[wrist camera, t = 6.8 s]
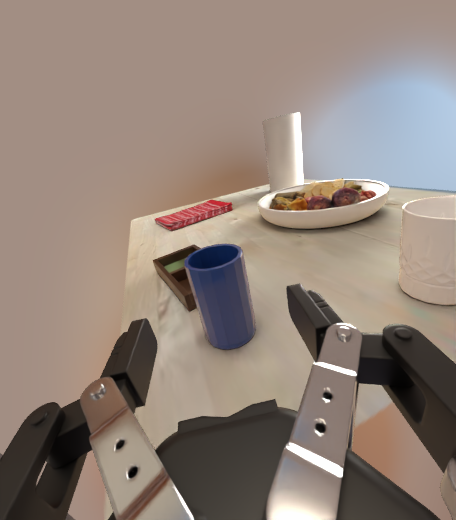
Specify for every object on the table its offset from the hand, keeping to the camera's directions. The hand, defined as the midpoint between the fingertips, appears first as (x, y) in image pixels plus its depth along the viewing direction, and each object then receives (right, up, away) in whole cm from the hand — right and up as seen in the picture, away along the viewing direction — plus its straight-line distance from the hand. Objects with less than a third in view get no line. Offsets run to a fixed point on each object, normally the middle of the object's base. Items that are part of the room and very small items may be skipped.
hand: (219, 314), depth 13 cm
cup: (+1, -5, +15) cm, 16 cm away
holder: (-6, 0, +29) cm, 29 cm away
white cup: (+25, 0, +15) cm, 29 cm away
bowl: (+24, +15, +48) cm, 56 cm away
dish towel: (-11, +18, +69) cm, 72 cm away
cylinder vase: (+23, +30, +78) cm, 87 cm away
